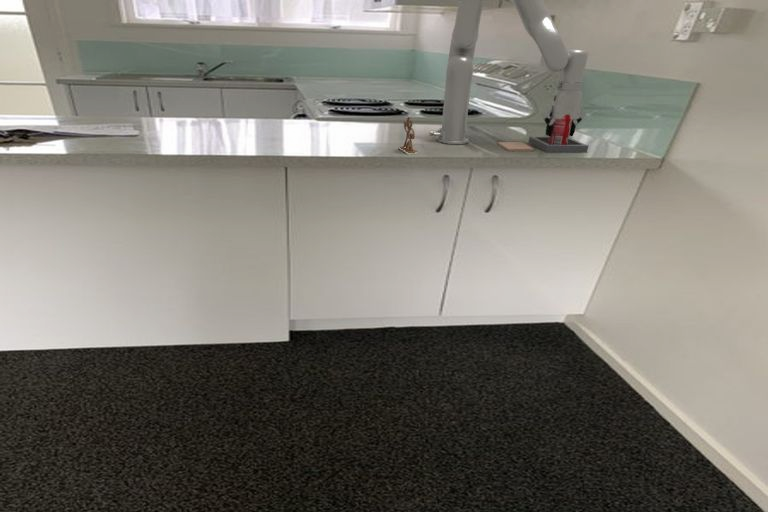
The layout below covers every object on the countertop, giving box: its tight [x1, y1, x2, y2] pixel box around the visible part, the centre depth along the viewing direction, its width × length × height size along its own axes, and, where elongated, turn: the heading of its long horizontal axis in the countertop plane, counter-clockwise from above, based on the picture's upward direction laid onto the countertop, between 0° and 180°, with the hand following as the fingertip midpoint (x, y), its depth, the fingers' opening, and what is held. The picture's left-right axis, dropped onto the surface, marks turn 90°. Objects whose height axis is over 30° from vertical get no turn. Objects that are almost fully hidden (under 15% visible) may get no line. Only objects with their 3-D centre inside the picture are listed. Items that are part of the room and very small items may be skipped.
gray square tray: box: [528, 136, 589, 153], centre depth 163 cm, size 16×16×2 cm
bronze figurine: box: [399, 116, 418, 153], centre depth 148 cm, size 9×4×12 cm, turn 21°
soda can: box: [548, 114, 572, 145], centre depth 161 cm, size 7×7×13 cm
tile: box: [497, 141, 534, 152], centre depth 161 cm, size 10×11×1 cm
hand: (559, 135), depth 161 cm, fingers open, 8 cm apart
